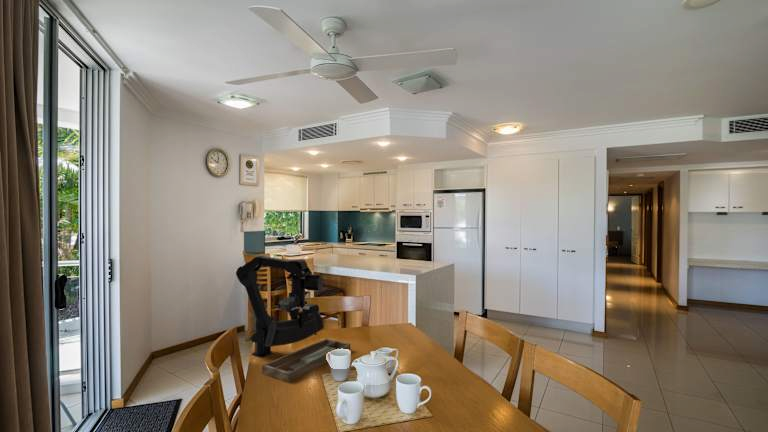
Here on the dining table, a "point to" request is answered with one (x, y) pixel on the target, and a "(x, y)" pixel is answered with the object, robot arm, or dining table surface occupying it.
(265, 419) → the dining table surface
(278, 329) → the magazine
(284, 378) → the tray
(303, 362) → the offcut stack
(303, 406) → the dining table surface
